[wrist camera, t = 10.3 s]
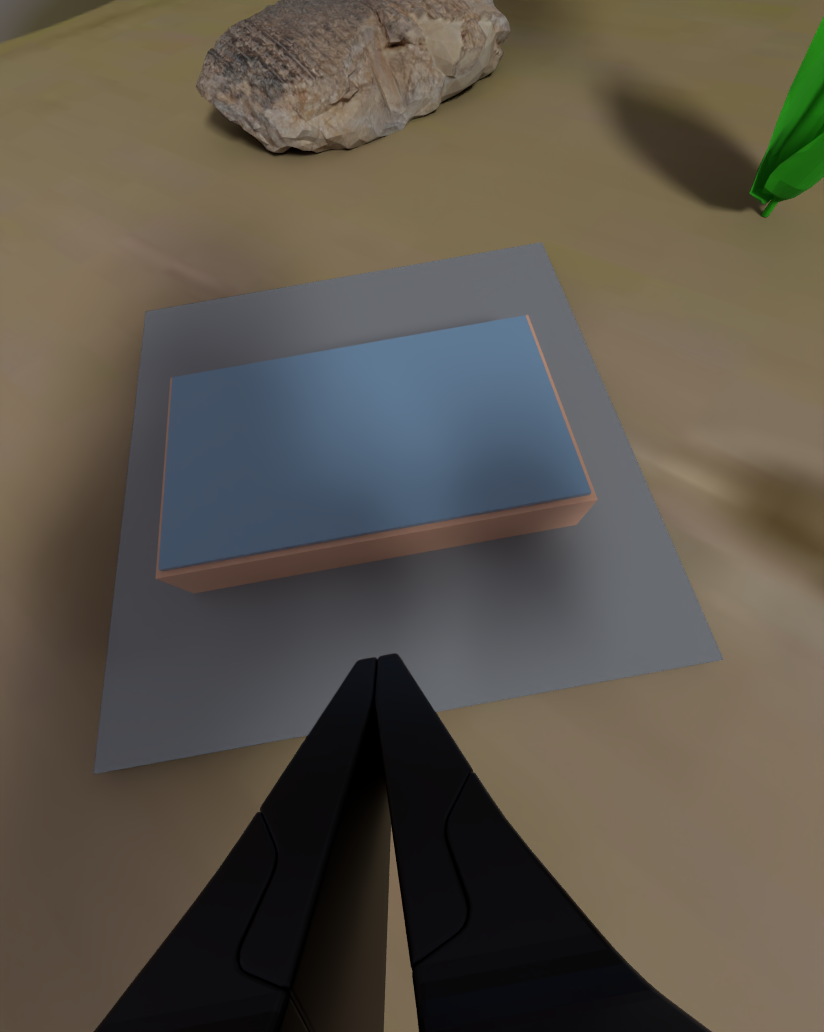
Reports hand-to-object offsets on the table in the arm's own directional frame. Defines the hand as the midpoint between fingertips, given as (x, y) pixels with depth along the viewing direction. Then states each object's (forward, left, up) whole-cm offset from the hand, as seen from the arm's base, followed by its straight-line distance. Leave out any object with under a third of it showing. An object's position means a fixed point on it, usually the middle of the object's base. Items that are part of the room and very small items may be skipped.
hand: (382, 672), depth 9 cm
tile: (+3, -2, -4) cm, 6 cm away
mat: (+7, -5, -6) cm, 11 cm away
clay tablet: (+28, -25, -6) cm, 38 cm away
